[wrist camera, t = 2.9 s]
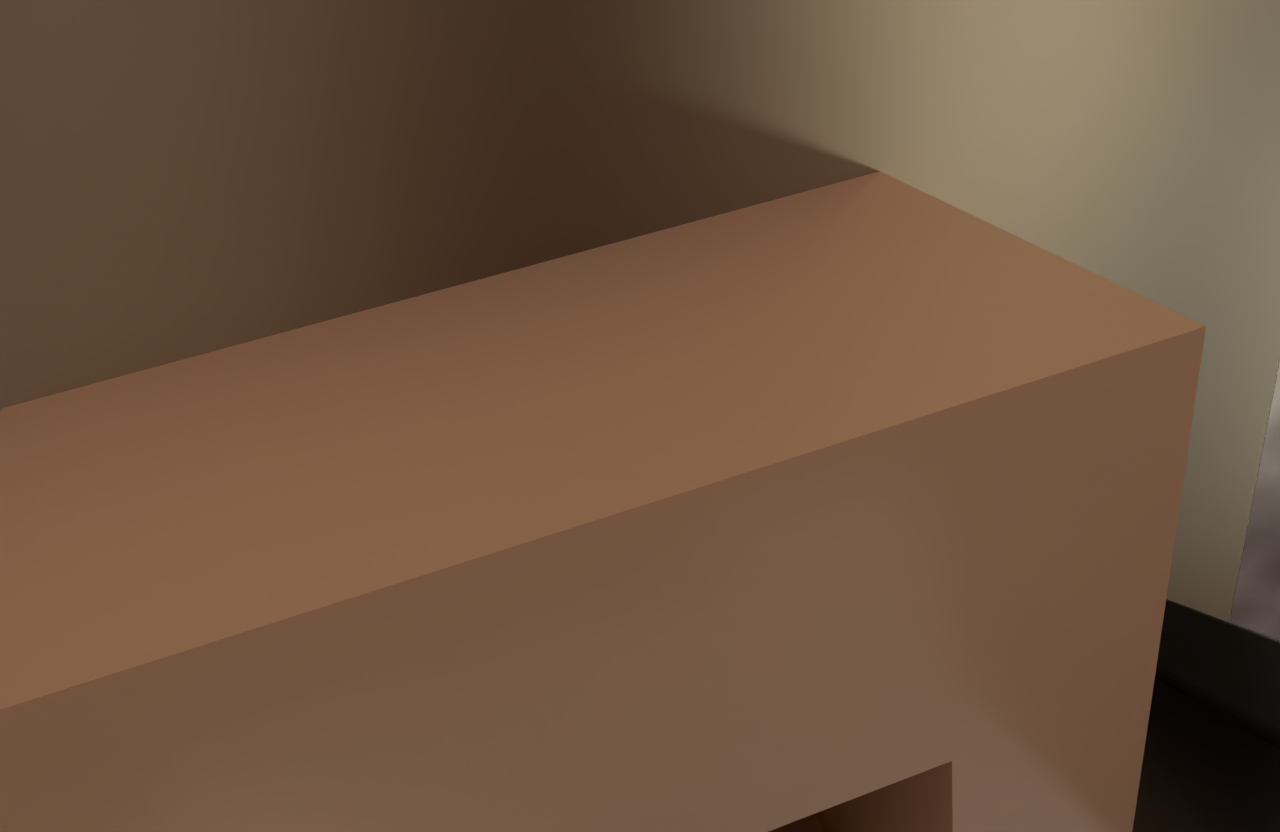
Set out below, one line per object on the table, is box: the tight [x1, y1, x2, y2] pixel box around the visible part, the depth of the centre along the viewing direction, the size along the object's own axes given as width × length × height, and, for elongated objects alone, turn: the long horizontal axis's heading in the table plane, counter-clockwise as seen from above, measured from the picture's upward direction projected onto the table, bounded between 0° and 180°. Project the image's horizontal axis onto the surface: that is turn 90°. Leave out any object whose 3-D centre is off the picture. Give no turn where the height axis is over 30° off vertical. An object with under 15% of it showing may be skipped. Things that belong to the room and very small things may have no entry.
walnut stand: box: [0, 0, 1280, 832], centre depth 7 cm, size 14×14×4 cm
